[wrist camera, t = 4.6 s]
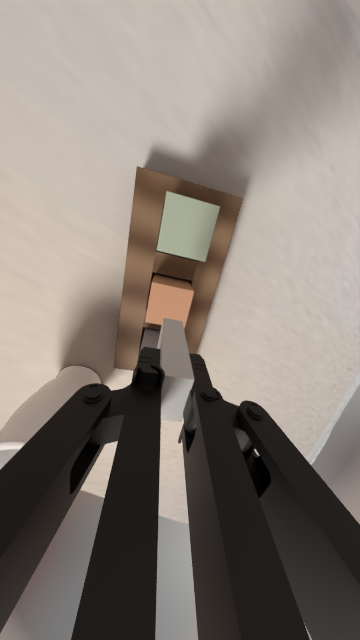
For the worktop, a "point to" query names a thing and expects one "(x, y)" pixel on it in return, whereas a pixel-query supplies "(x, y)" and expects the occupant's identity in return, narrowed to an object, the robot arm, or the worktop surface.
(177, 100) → the worktop surface
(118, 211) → the worktop surface
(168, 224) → the sage green block
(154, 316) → the terracotta toy cube
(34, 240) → the worktop surface
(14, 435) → the jar
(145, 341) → the blue-gray block
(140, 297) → the brown board
